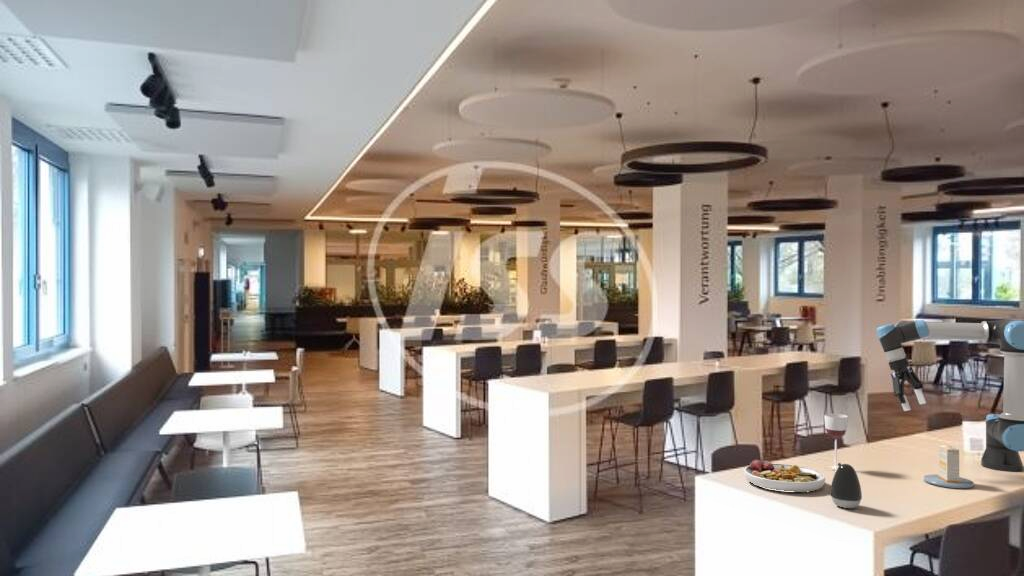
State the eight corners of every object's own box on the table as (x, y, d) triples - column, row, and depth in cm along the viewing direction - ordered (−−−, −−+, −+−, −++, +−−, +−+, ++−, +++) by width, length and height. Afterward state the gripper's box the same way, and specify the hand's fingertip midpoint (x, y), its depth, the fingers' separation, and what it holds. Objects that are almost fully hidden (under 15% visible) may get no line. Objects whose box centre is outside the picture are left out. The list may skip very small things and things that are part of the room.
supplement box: (960, 482, 284) (960, 449, 284) (946, 482, 285) (946, 449, 285) (950, 477, 293) (950, 445, 293) (937, 477, 293) (938, 444, 293)
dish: (939, 476, 300) (939, 472, 300) (982, 485, 286) (982, 482, 286) (914, 481, 292) (915, 477, 292) (958, 491, 277) (958, 487, 277)
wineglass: (826, 471, 308) (826, 417, 308) (822, 465, 317) (822, 413, 318) (849, 472, 306) (850, 418, 306) (844, 466, 315) (845, 414, 315)
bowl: (838, 485, 286) (838, 465, 286) (803, 500, 265) (803, 479, 265) (766, 471, 308) (766, 453, 308) (729, 484, 287) (729, 464, 287)
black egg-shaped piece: (852, 502, 262) (852, 460, 262) (867, 511, 252) (867, 467, 252) (824, 502, 262) (825, 460, 262) (838, 511, 252) (838, 467, 252)
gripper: (903, 356, 324) (921, 402, 320) (874, 366, 310) (892, 414, 306) (919, 352, 318) (937, 399, 314) (890, 362, 304) (909, 411, 300)
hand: (915, 407), depth 310 cm, fingers open, 13 cm apart
